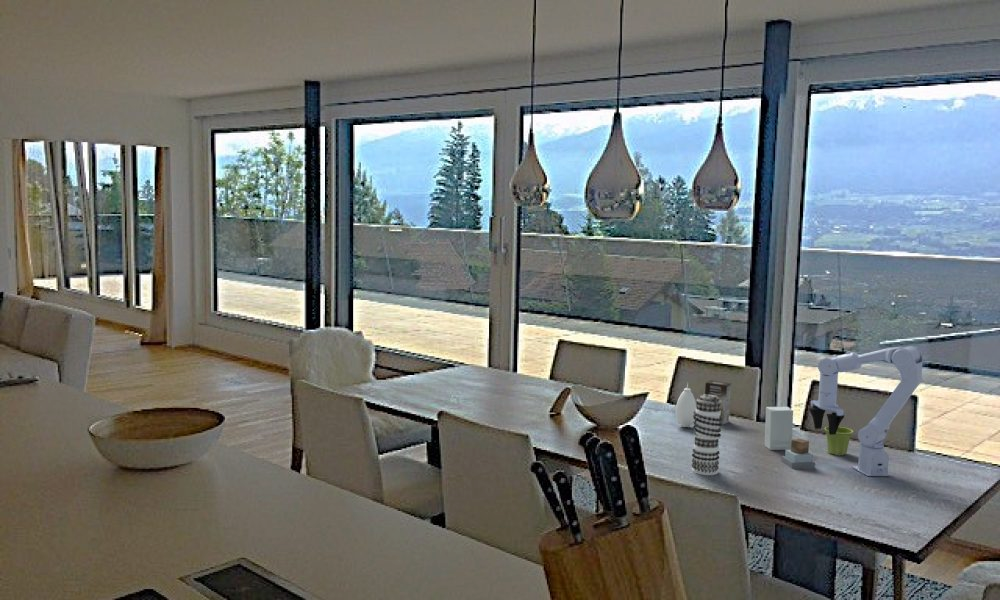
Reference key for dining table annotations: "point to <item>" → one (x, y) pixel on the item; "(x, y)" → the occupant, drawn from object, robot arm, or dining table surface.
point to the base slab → (798, 464)
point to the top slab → (798, 456)
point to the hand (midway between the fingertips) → (825, 431)
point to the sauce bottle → (686, 408)
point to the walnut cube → (799, 446)
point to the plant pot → (838, 440)
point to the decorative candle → (706, 435)
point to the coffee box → (720, 396)
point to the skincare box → (778, 428)
